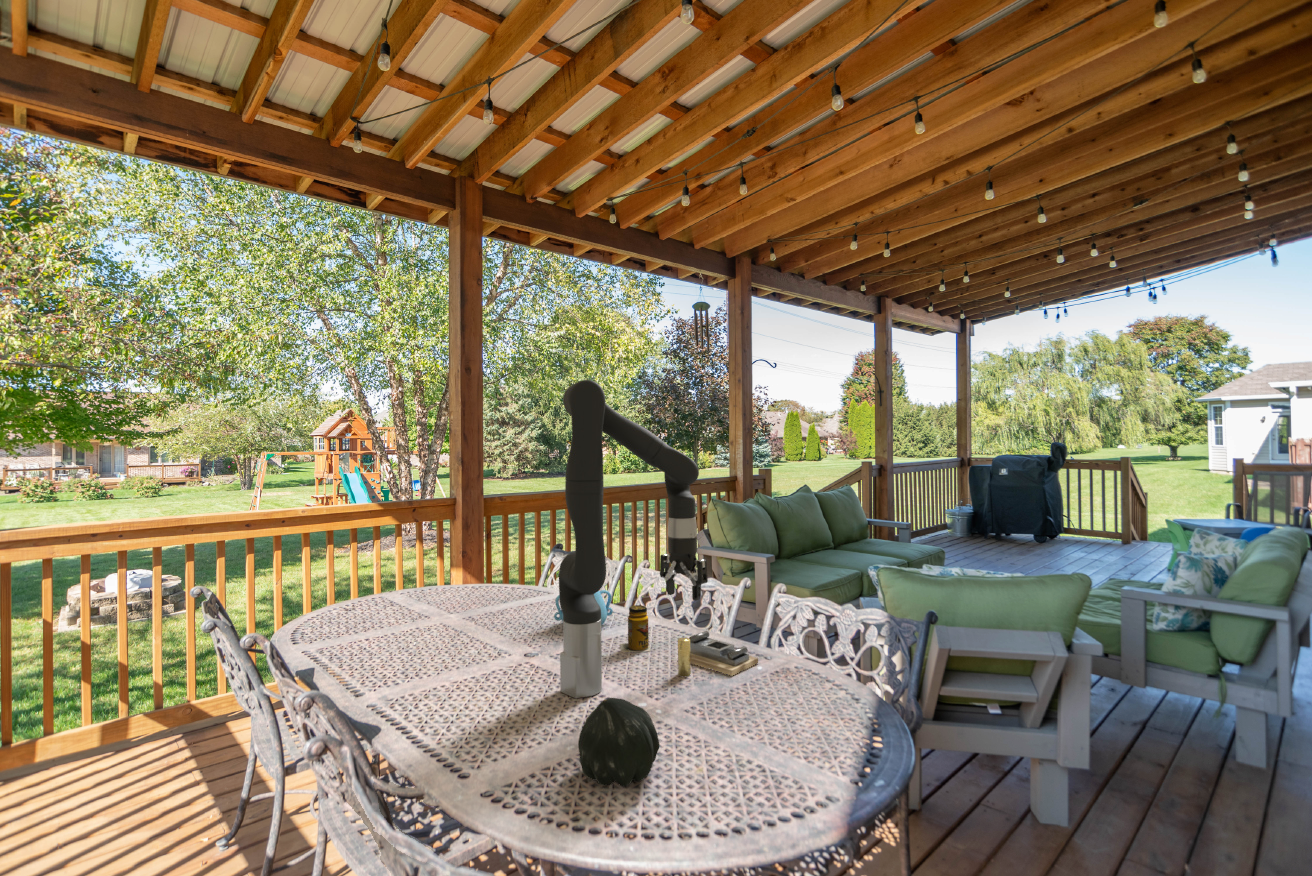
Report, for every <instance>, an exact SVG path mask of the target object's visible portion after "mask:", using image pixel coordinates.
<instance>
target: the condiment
mask: <svg viewBox="0 0 1312 876" xmlns="http://www.w3.org/2000/svg"><path fill="white" fill-rule="evenodd" d="M649 634H650V633H649V616H648V607H647V606H645V605H640V604H639V605H638V604H636V605H631V606H630V607H629V608H628V617H627V643H619V645H620V650H621V653H623V654H624V653H643V652H651V651H652V649H651V647H650V644H649V643H650V642H649V641H650V640H649Z"/></svg>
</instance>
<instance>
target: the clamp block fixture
mask: <svg viewBox="0 0 1312 876" xmlns="http://www.w3.org/2000/svg"><path fill="white" fill-rule="evenodd" d="M689 639H690V664H691V663H692V664H691V665H694V664H695V666H697V665H698V666H697V667H700V666H701V668H703V667H704V669H707V668H710V669H713V670H715V671H714V672H716V671H719V672H722V673H721V674H723V673H724V674H723V675H726V674H728V675H727V676H729V675H730V676H729V677H734V676H736V675H738V674H740V673H741V672H740V671H742V672H744V671H746V670H748V669H750V668H752V667H754V666H756V665H758V664H759V658H758V657H756V656H752V655H750V654H749V653H748V647H747V646H745V645H743V646H741V647H739V648H736V649H735V644H732V643H729V642H725V641H721V640H718V639H715V638H712V637H711V638H710V632H709V631H708V630H705V631H702V632H700V633H696V634H694V635H690V636H689ZM757 663H758V664H757ZM755 664H756V665H755ZM753 665H754V666H753ZM751 666H752V667H751ZM749 667H750V668H749ZM747 668H748V669H747ZM710 669H709V670H710ZM745 669H746V670H745ZM713 670H712V671H713ZM743 670H744V671H743ZM719 672H718V673H719ZM739 672H740V673H739ZM737 673H738V674H737ZM735 674H736V675H735ZM733 675H734V676H733Z"/></svg>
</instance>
